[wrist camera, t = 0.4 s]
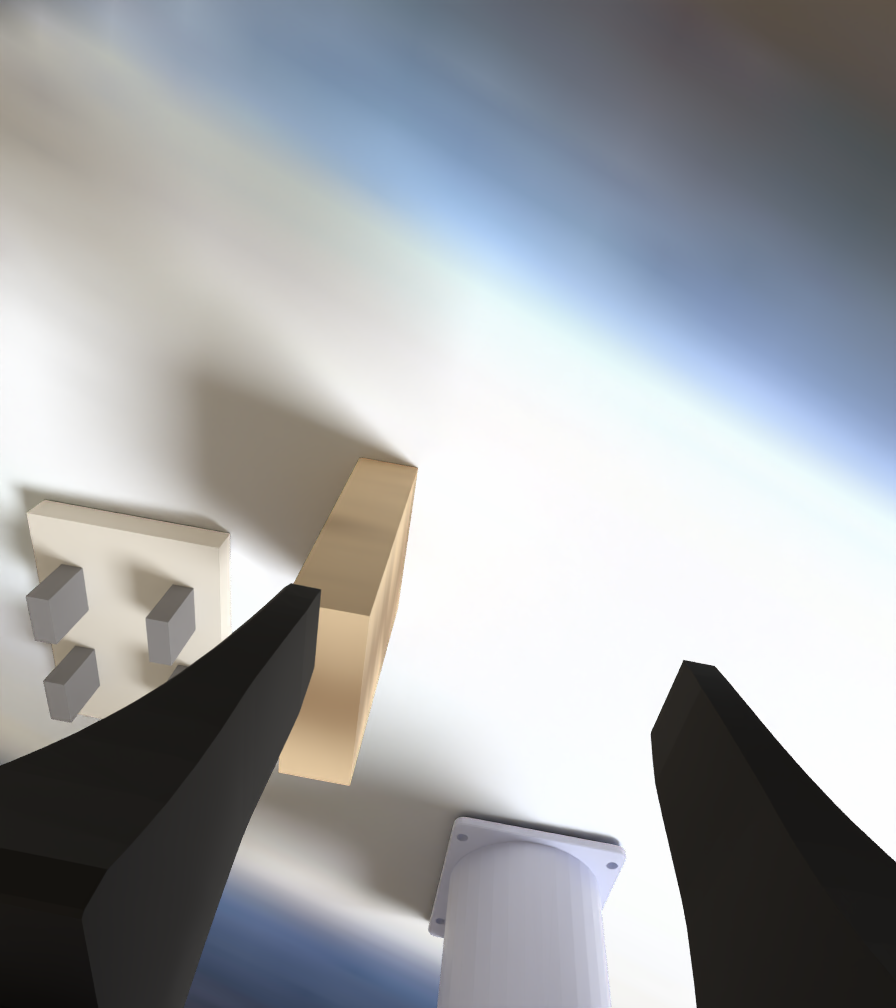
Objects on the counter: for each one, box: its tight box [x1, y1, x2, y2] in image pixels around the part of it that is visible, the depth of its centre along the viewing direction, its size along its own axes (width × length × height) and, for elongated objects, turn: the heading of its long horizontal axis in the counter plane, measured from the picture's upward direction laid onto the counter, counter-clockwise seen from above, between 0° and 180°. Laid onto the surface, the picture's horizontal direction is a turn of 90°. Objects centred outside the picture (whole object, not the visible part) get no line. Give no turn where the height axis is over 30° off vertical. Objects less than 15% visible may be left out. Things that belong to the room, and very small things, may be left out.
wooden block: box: [278, 457, 418, 786], centre depth 20 cm, size 6×2×8 cm, turn 171°
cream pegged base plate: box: [26, 500, 232, 722], centre depth 25 cm, size 10×7×3 cm
